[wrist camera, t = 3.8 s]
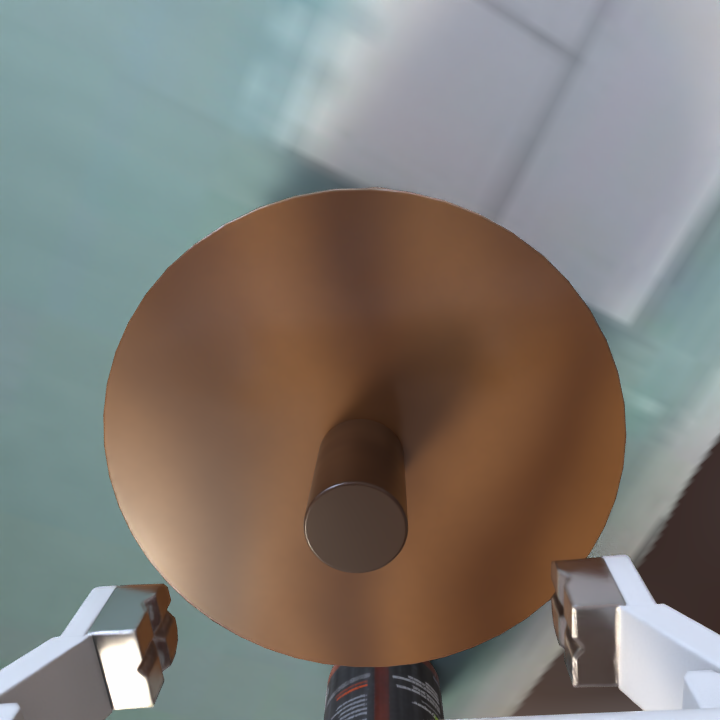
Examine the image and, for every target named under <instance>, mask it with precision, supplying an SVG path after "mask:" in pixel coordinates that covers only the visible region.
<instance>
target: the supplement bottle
mask: <svg viewBox="0 0 720 720" xmlns="http://www.w3.org/2000/svg"><path fill="white" fill-rule="evenodd" d="M324 720H444V715H443V706H442V695H441V690H440V684H439V678H438V675H437V673H436V671H435V669H434V667H433V666H432V664H431V662H430V661H425V662H420V663H416V664H407V665H398V666H389V667H349V666H340V665H334V666H333V668H332V670H331V673H330V676H329V680H328V686H327V691H326V701H325V713H324Z"/></svg>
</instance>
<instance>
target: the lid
mask: <svg viewBox="0 0 720 720" xmlns="http://www.w3.org/2000/svg"><path fill="white" fill-rule="evenodd" d="M103 417H104V447H105V453H106V459H107V465H108V471H109V477H110V480H111V483H112V486H113V489H114V493H115V496H116V499H117V502H118V505H119V508H120V510H121V512H122V514H123V516H124V518H125V520H126V523H127V525H128V527H129V529H130V531H131V533H132V535H133V536H134V538H135V539H136V541H137V543H138V544H139V546H140V547H141V549H142V550H143V552H144V554H145V555H146V557H147V558H148V560H149V561H150V562H151V563H152V564H153V566H154V567H155V568H156V569H157V571H158V572H159V573H160V574H161V575H162V577H163V578H164V579H165V580H166V581H167V582H168V583H169V584H170V585H171V586H172V587H173V588H174V589H175V590H176V591H177V592H178V593H179V594H180V595H181V596H182V597H183V598H184V599H185V600H186V601H187V602H189V603H190V604H191V605H193V606H194V607H195V608H197V609H198V610H199V611H200V612H202V613H203V614H204V615H206V616H207V617H208V618H210V619H211V620H212V621H214V622H216V623H217V624H219V625H221V626H223V627H224V628H226V629H228V630H229V631H231V632H233V633H234V634H236V635H238V636H240V637H242V638H244V639H246V640H249V641H251V642H253V643H255V644H258V645H260V646H262V647H264V648H267V649H270V650H273V651H276V652H279V653H282V654H285V655H288V656H291V657H294V658H299V659H303V660H308V661H313V662H318V663H322V664H330V665H340V666H349V667H389V666H398V665H407V664H416V663H420V662H425V661H429V660H434V659H438V658H443V657H446V656H449V655H452V654H455V653H458V652H461V651H464V650H467V649H470V648H473V647H475V646H477V645H479V644H481V643H484V642H486V641H488V640H490V639H492V638H494V637H496V636H498V635H501V634H502V633H504V632H505V631H507V630H509V629H510V628H512V627H513V626H515V625H517V624H518V623H520V622H522V621H523V620H525V619H526V618H528V617H529V616H530V615H531V614H533V613H534V612H535V611H536V610H538V609H539V608H540V607H541V606H543V605H544V604H545V603H546V602H548V601H549V600H550V599H551V597H552V595H553V594H554V593H555V588H554V585H553V583H552V580H551V562H552V561H556V560H570V559H583V558H587V556H588V555H589V554H590V552H591V550H592V548H593V547H594V545H595V543H596V541H597V539H598V538H599V536H600V534H601V532H602V531H603V529H604V527H605V525H606V522H607V519H608V517H609V514H610V512H611V509H612V507H613V504H614V502H615V499H616V496H617V492H618V487H619V483H620V479H621V475H622V471H623V465H624V454H625V443H626V423H625V405H624V399H623V394H622V389H621V384H620V379H619V375H618V370H617V368H616V365H615V362H614V359H613V357H612V354H611V351H610V348H609V346H608V343H607V340H606V338H605V336H604V335H603V333H602V331H601V329H600V327H599V325H598V323H597V322H596V320H595V318H594V316H593V314H592V312H591V311H590V309H589V308H588V306H587V305H586V304H585V302H584V301H583V300H582V298H581V297H580V296H579V294H578V293H577V292H576V290H575V289H574V288H573V286H572V285H571V284H570V282H569V281H568V280H567V279H566V278H565V277H564V276H563V275H562V274H561V273H560V272H559V271H558V270H557V269H556V268H555V267H554V266H553V265H552V264H551V263H550V262H549V261H548V260H547V259H546V258H545V257H544V256H543V255H542V254H540V253H539V252H538V251H536V250H535V249H534V248H532V247H531V246H530V245H528V244H527V243H526V242H524V241H523V240H522V239H520V238H519V237H518V236H516V235H515V234H514V233H512V232H511V231H509V230H507V229H505V228H504V227H502V226H500V225H498V224H496V223H495V222H493V221H491V220H489V219H487V218H486V217H484V216H482V215H480V214H478V213H476V212H473V211H471V210H468V209H465V208H463V207H460V206H458V205H455V204H452V203H450V202H447V201H445V200H441V199H437V198H433V197H428V196H424V195H420V194H416V193H412V192H407V191H397V190H387V189H377V188H351V189H331V190H325V191H319V192H313V193H308V194H302V195H296V196H293V197H290V198H287V199H283V200H280V201H277V202H274V203H271V204H268V205H265V206H261V207H259V208H257V209H255V210H253V211H251V212H249V213H247V214H244V215H242V216H240V217H238V218H236V219H234V220H232V221H230V222H228V223H226V224H224V225H222V226H221V227H219V228H218V229H216V230H215V231H213V232H212V233H210V234H209V235H207V236H206V237H204V238H203V239H201V240H200V241H198V242H197V243H195V244H194V245H193V246H192V247H191V248H189V249H188V250H187V251H186V252H185V253H184V254H183V255H182V256H180V257H179V258H178V259H177V260H176V261H175V262H174V263H173V264H172V265H170V266H169V267H168V268H167V269H166V271H165V272H164V273H163V274H162V275H161V277H160V278H159V279H158V280H157V281H156V283H155V284H154V285H153V286H152V287H151V288H150V290H149V291H148V292H147V293H146V295H145V296H144V298H143V299H142V301H141V303H140V304H139V306H138V308H137V309H136V311H135V312H134V314H133V316H132V317H131V319H130V321H129V322H128V324H127V327H126V329H125V331H124V334H123V336H122V338H121V341H120V343H119V345H118V347H117V350H116V352H115V356H114V359H113V363H112V367H111V371H110V374H109V378H108V382H107V388H106V397H105V406H104V414H103Z"/></svg>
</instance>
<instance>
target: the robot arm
mask: <svg viewBox="0 0 720 720" xmlns="http://www.w3.org/2000/svg"><path fill="white" fill-rule="evenodd" d="M551 580H552V583H553V585H554V588H555V593H554V594H553V595H552V597H551V601H552V615H553V623H554V628H555V633H556V636H557V640H558V643H559V645H560V646H561V647H563V648H564V654H565V664H566V667H567V670H568V673H569V676H570V678H571V681H572V684H573V687H612V686H613V687H615V686H616V687H617V686H619V689H620V690H621V691H622V692H623V693H624V694H626V695H627V696H628V697H629V698H630V699H631V700H632V701H633V702H634V703H636V704H637V705H638V706H639V707H640V708H641V709H642V710H643V711H634V712H608V713H584V714H563V715H538V716H515V717H492V718H469V719H446V720H720V635H719V634H717V633H715V632H714V631H712V630H710V629H708V628H706V627H704V626H703V625H701V624H699V623H697V622H696V621H694V620H692V619H690V618H689V617H687V616H685V615H683V614H681V613H680V612H678V611H676V610H674V609H672V608H671V607H669V606H667V605H665V604H656V602H655V600H654V599H653V597H652V595H651V594H650V592H649V590H648V588H647V587H646V585H645V583H644V581H643V580H642V578H641V576H640V575H639V573H638V571H637V569H636V568H635V566H634V564H633V563H632V561H631V559H630V557H629V556H627V555H626V554H623V555H613V556H602V557H597V558H583V559H570V560H556V561H552V562H551ZM170 602H171V598H170V594H169V590H168V587H167V586H166V585H164V584H143V585H120V586H101V587H96V588H94V589H92V591H91V592H90V594H89V595H88V597H87V598H86V599H85V601H84V602H83V604H82V605H81V607H80V608H79V610H78V611H77V613H76V614H75V616H74V617H73V619H72V620H71V622H70V623H69V624H68V626H67V627H66V629H65V630H64V632H63V633H62V635H61V636H60V637H53V638H51V639H50V640H48V641H46V642H45V643H43V644H42V645H40V646H38V647H37V648H35V649H34V650H32V651H30V652H29V653H27V654H26V655H24V656H22V657H21V658H19V659H18V660H16V661H14V662H13V663H11V664H10V665H8V666H6V667H5V668H3V669H2V670H0V720H105V719H106V718H107V717H108V716H109V715H110V714H111V713H112V710H116V709H129V708H142V707H153V706H154V704H155V702H156V699H157V697H158V695H159V692H160V690H161V688H162V685H163V683H164V678H163V673H162V672H163V671H164V670H165V669H166V668H168V667H169V666H170V665H171V664H172V662H173V659H174V657H175V654H176V648H177V641H178V634H177V625H176V620H175V617H174V616H172V615H171V614H170V613H169V612H168V611H167V608H168V606H169V604H170Z"/></svg>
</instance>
